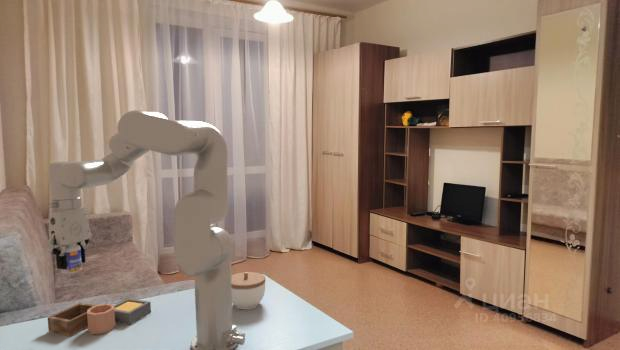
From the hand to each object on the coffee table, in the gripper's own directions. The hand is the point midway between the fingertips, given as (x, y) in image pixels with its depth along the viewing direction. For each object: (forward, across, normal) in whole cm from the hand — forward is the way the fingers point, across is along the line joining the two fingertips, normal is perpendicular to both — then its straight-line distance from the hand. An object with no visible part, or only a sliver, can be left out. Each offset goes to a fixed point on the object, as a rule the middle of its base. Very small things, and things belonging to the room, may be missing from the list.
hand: (71, 264), depth 122 cm
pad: (+17, +10, -10) cm, 22 cm away
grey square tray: (+19, +10, -10) cm, 24 cm away
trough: (+19, 0, 0) cm, 19 cm away
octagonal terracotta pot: (+19, +1, -9) cm, 21 cm away
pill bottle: (+2, 0, 0) cm, 2 cm away
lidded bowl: (+19, +29, -41) cm, 54 cm away
